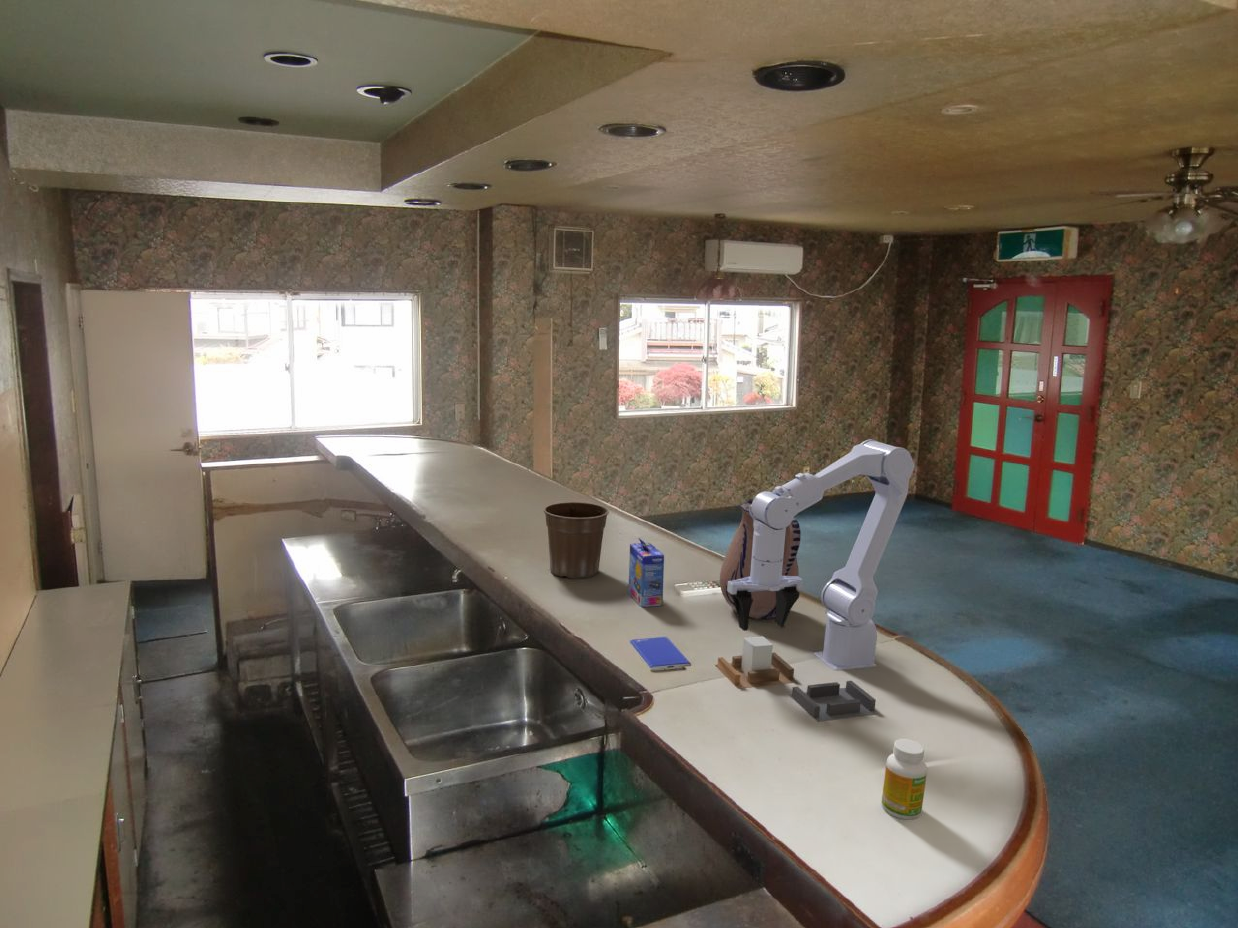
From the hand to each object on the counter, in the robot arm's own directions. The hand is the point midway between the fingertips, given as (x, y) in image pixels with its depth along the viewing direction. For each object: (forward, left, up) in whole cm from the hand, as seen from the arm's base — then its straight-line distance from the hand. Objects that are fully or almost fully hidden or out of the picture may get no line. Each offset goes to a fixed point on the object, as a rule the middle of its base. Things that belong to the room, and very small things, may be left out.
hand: (761, 626), depth 158 cm
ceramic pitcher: (-15, -27, -10) cm, 32 cm away
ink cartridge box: (+8, -41, -10) cm, 43 cm away
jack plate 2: (-7, +15, -9) cm, 19 cm away
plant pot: (+19, -63, -10) cm, 67 cm away
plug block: (+1, +1, -9) cm, 9 cm away
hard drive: (+16, -11, -10) cm, 22 cm away
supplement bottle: (0, +44, -10) cm, 45 cm away
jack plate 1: (+1, +1, -9) cm, 9 cm away
